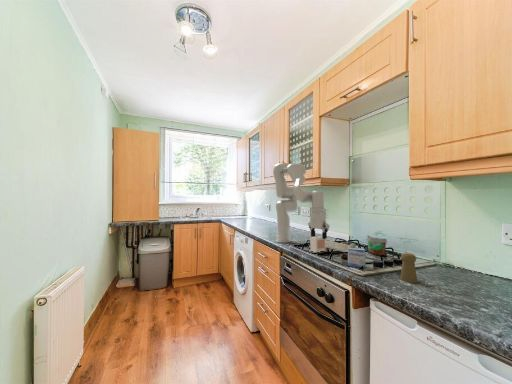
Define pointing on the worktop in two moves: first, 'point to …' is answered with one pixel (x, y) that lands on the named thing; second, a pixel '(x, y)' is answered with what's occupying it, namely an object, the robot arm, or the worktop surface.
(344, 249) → the price rail
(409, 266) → the cork
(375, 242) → the food container
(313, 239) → the cream carton
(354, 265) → the medicine box
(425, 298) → the worktop surface
